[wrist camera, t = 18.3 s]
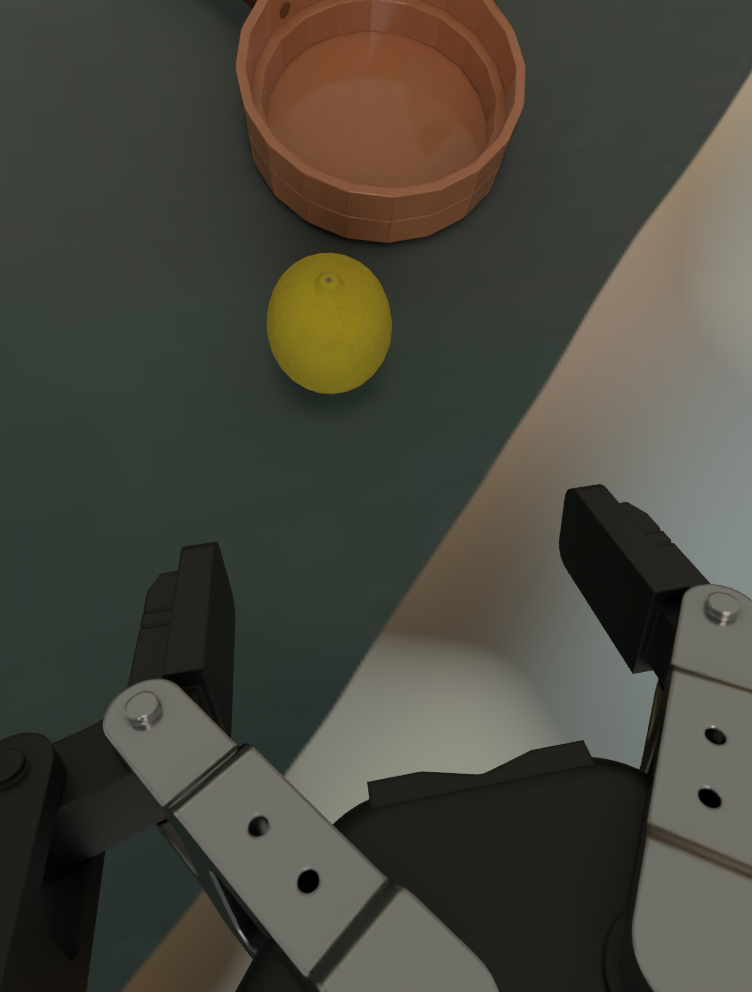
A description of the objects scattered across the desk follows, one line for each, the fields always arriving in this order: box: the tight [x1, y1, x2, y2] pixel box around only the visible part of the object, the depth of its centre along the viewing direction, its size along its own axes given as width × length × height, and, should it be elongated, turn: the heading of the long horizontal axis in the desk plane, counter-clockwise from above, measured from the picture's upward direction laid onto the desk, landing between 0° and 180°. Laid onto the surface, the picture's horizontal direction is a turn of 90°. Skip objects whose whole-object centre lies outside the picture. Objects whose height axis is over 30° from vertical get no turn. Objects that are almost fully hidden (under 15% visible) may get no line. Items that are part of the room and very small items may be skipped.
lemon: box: [267, 253, 392, 394], centre depth 27 cm, size 6×6×8 cm
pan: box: [235, 0, 526, 243], centre depth 32 cm, size 14×14×4 cm
